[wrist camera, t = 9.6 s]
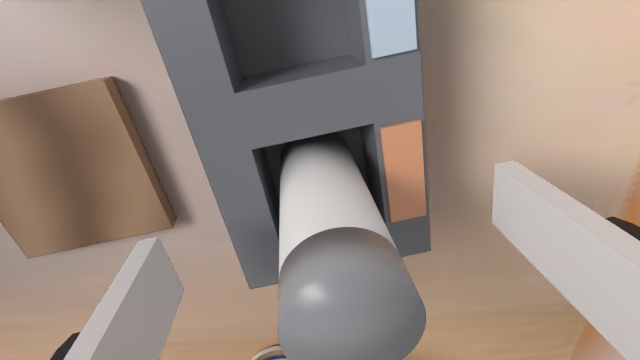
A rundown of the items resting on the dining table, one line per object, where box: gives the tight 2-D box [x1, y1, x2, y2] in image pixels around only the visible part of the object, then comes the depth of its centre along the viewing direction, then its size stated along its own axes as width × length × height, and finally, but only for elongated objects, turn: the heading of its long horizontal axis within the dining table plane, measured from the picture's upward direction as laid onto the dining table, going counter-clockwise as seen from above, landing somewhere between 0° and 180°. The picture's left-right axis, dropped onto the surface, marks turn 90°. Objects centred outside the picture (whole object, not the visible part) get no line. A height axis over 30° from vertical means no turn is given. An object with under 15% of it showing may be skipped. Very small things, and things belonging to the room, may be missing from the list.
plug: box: [278, 132, 426, 360], centre depth 15 cm, size 4×4×12 cm
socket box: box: [140, 0, 431, 289], centre depth 17 cm, size 10×18×5 cm, turn 11°
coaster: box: [0, 76, 176, 258], centre depth 19 cm, size 9×9×1 cm
